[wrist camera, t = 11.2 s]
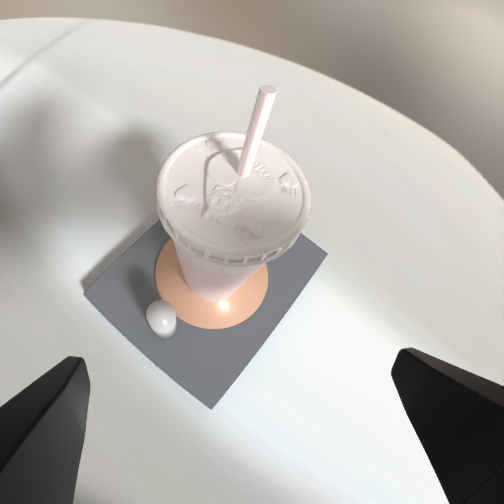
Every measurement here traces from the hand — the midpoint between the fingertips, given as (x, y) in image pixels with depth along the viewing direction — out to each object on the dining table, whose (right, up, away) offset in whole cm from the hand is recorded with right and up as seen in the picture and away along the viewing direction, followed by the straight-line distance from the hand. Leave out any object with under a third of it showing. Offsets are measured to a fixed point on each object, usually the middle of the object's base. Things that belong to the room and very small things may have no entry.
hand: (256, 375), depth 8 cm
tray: (-3, +1, +14) cm, 15 cm away
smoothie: (-3, +2, +13) cm, 14 cm away
